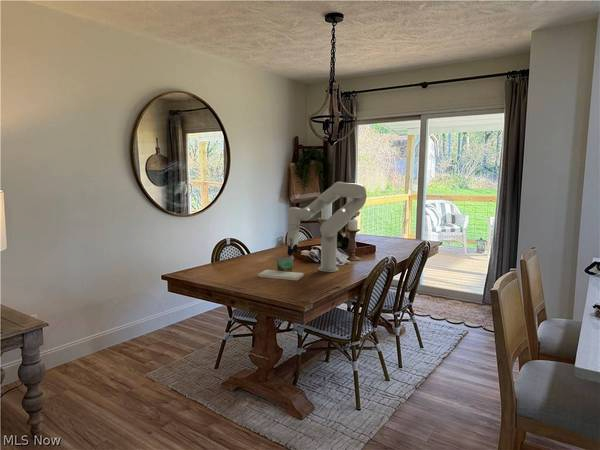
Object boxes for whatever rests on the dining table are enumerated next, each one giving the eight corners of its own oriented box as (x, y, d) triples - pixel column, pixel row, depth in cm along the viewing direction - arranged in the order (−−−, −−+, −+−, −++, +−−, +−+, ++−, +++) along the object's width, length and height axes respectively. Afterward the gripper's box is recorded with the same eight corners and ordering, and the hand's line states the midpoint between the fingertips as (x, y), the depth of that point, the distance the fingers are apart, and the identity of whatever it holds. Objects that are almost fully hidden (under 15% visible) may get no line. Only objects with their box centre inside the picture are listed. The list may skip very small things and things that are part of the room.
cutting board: (266, 272, 249) (266, 269, 249) (303, 275, 241) (303, 273, 241) (258, 276, 238) (258, 274, 238) (297, 280, 230) (297, 277, 230)
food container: (281, 275, 242) (281, 258, 241) (275, 273, 247) (275, 256, 246) (297, 272, 250) (298, 256, 249) (291, 270, 255) (291, 254, 254)
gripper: (292, 224, 266) (291, 250, 269) (283, 227, 250) (282, 255, 252) (303, 225, 264) (302, 251, 266) (294, 229, 248) (293, 256, 250)
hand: (292, 253), depth 259 cm, fingers open, 9 cm apart
